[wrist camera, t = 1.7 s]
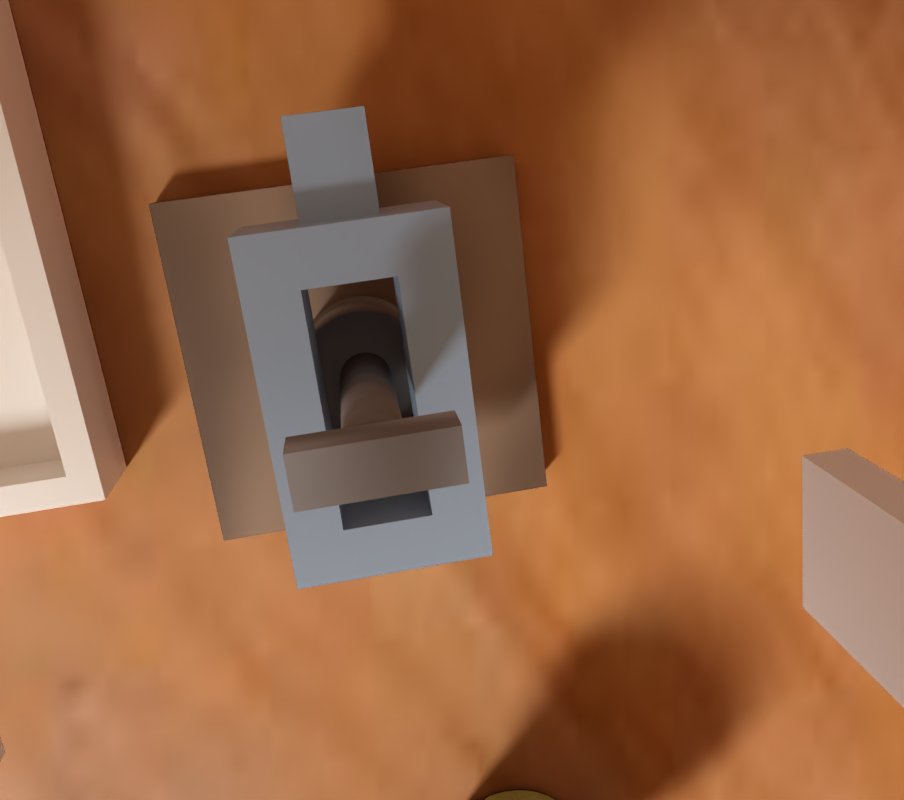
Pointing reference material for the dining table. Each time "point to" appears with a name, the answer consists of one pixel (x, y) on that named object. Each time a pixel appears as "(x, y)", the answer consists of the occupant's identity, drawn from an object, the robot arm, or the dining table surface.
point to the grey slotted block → (298, 361)
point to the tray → (43, 326)
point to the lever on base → (358, 355)
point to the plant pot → (519, 796)
